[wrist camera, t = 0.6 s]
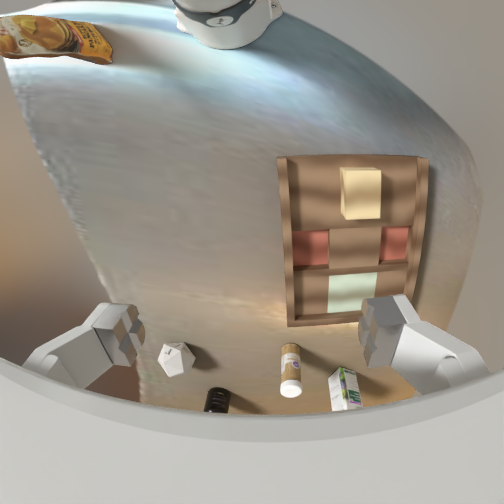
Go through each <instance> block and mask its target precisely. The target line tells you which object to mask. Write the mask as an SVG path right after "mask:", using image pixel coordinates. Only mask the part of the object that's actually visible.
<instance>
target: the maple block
mask: <svg viewBox="0 0 504 504" xmlns="http://www.w3.org/2000/svg"><path fill="white" fill-rule="evenodd" d="M340 181H341V213H342V215H343V216H344V217H345V219H346V220H352V219H377V218H380V207H381V170H379V169H376V168H374V167H340Z"/></svg>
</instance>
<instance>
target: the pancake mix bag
mask: <svg viewBox="0 0 504 504" xmlns="http://www.w3.org/2000/svg"><path fill="white" fill-rule="evenodd" d="M112 52H113V50H112V48H111V45H110V44H109V43H108V42H107V41H106V40H105V39H104V37H103V36H102V35H101V34H100V33H99V32H98V31H97V29H96V28H95V27H94V26H93V25H92V24H90V23H87V22H78V21H69V20H64V19H58V18H51V17H44V16H33V15H14V16H5V17H0V55H1V56H3V57H5V58H9V59H22V58H29V57H59V56H69V57H73V58H77V59H81V60H85V61H89V62H92V63H95V64H100V65H104V64H109V63H113V62H112V60H111V58H110V57H111V54H112Z"/></svg>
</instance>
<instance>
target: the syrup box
mask: <svg viewBox="0 0 504 504" xmlns="http://www.w3.org/2000/svg"><path fill="white" fill-rule="evenodd" d="M328 381H329V388H330V396H331V404H332V411H339V410H348V409H355V408H362V407H363V406H362V401H361V396H360V392H359V387H358V383H357V378H356V373H355V371H351V370H348V369H345V368H342V367H339V368H338V369H337V370H336V371H335V372H334V373H333V374H332V375H331V376H330V377H329V378H328Z"/></svg>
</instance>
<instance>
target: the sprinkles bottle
mask: <svg viewBox="0 0 504 504" xmlns="http://www.w3.org/2000/svg"><path fill="white" fill-rule="evenodd" d="M281 352H282V359H281V376H282V379H281V387H280V390H281V394H282V395H283V396H285V397H290V398H291V397H297V396H299V395H300V394H301V393H302V384H301V371H300V369H301V365H300V353H299V352H300V348H299V346H298V345H296V344H293V343H289V344H286V345H284V346H283V347H282V349H281Z"/></svg>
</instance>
